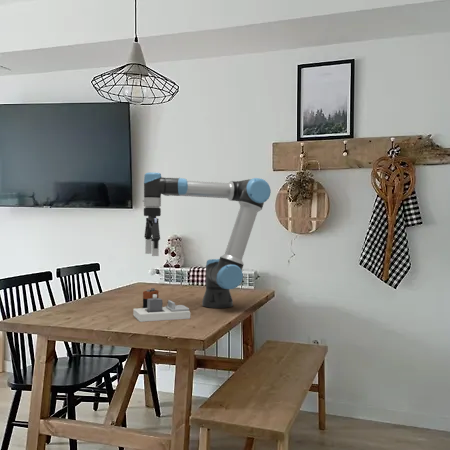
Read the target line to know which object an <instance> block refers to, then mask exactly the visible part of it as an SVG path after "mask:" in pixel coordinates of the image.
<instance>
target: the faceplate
mask: <svg viewBox="0 0 450 450" xmlns="http://www.w3.org/2000/svg"><path fill="white" fill-rule="evenodd" d="M132 314H133V317H134V318H135V319H136V320H137V321H138V322H139V323H142V322H143V323H144V322H156V321H157V322H159V321H173V320H176V321H177V320H188V319H189V320H190V319H191V311H190V310H183V311H171V310H169V309H168V308H166V306H162V312H150V313H148V312H147V308H143V307H142V308H141V307H140V308H139V307H138V308H133V312H132Z"/></svg>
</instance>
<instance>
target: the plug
mask: <svg viewBox="0 0 450 450" xmlns="http://www.w3.org/2000/svg"><path fill="white" fill-rule="evenodd" d="M162 307H163V298H160V297H158V298H157V294H153V298H151V299H147V312H148V313H150V312H162Z"/></svg>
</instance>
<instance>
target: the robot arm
mask: <svg viewBox="0 0 450 450" xmlns="http://www.w3.org/2000/svg"><path fill="white" fill-rule="evenodd" d="M271 194H272V193H271V187H270V185H269V183H268V181H266V179H264V178H260V177H253V178H250V179H249V178H248V179H244V180H237V181H235V180H234V181H233V180H231V181H229V182H218V181H215V182H213V181H199V180H197V181H196V180H187V179H186V178H183V177H163V176H162V174H161V173H160V172H155V171H153V172H145V173H144V176H143V199H142V202H143V206H144V207H143V216H144V217H145V230H144V238H145V253H144V254H145V255H147V254H148V255H151V256H152V257H159V256H160V255H159V250H160V249H159V247H160V244H159V242H160V240H161V234H160V225H159V218H157V217H161V214H162V213H161V212H162V209H161V207H162V195H163V196H166V197H172V196H176V197H197V198H214V199H215V198H216V199H228V201H232V202H233V201H234V202H238V204H239V209H238V214H237V216H236V219H235V221H234V224H233V227H232V230H231V234H230V237H229V240H228V243H227V245H226V249H225V251H224V253H223V255H220V257H219V258H213V259H212V258H211V259H207V260H206V263H205V271H206V272H205V292H204V295H203V299H202V301H201V302H202V303H201V306H202V307H205V308H210V309H225V308H231V307H233V306H234V305H233V304H234V302H233V297H232V295H231V291H230V290H233V289H236V288H237V287H238V286H240V284H241V283H242V281H243V280H244V279H243V278H244V277H243V276H244V274H243V268H244V262H243V257H244V254H245V251H246V248H247V245H248V242H249V239H250V237H251V232H252V230H253V228H254V224H255V222H256V219H257V215H258V213H259V212H260V211H262V210H263V208H264V207H263V206H264V204H265V203H266V202H267V201H268V200H269V198H270V197H271Z"/></svg>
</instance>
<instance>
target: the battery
mask: <svg viewBox="0 0 450 450" xmlns="http://www.w3.org/2000/svg"><path fill="white" fill-rule="evenodd" d="M153 294H157V298H159V290H158V289H156V288H155V287H152V288H150V289H146V290H144V291H142V308H147V299H151V298H153Z"/></svg>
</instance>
